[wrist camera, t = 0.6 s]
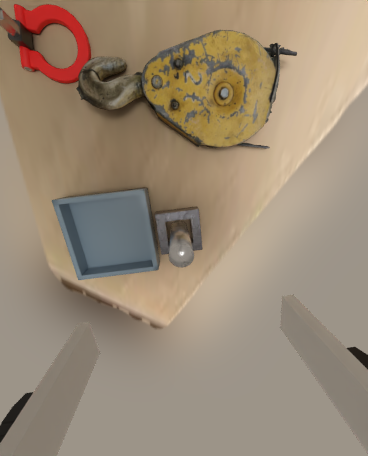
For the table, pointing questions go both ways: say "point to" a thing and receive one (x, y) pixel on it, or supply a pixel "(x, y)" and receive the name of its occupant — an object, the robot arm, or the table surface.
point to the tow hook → (35, 24)
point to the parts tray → (109, 233)
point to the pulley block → (197, 86)
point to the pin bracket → (175, 215)
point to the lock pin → (180, 245)
